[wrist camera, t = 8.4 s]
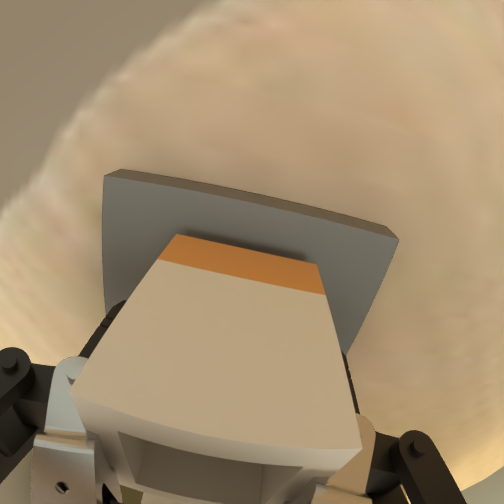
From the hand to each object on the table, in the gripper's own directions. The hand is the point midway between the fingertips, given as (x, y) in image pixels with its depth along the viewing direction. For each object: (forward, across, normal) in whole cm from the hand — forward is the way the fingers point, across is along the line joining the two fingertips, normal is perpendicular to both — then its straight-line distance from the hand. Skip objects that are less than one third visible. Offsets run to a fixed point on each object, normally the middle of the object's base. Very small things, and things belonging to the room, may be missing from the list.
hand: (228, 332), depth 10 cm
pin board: (+4, 0, +6) cm, 7 cm away
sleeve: (+1, 0, 0) cm, 1 cm away
